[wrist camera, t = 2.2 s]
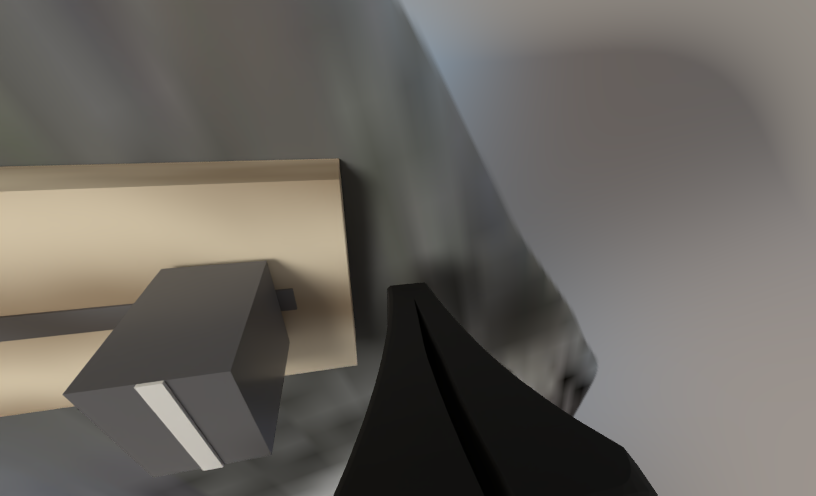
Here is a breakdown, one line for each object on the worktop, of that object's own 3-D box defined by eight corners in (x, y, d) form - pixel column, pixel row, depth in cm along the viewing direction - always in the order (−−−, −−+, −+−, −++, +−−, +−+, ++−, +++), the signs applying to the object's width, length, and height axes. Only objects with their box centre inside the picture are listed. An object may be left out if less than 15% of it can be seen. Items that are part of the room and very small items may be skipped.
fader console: (355, 331, 16) (357, 366, 14) (-151, 394, 12) (-232, 452, 10) (339, 158, 10) (339, 180, 9) (-539, 179, 7) (-823, 223, 5)
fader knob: (290, 342, 12) (271, 458, 8) (206, 352, 11) (151, 480, 8) (266, 260, 10) (229, 374, 6) (161, 268, 9) (60, 397, 6)
